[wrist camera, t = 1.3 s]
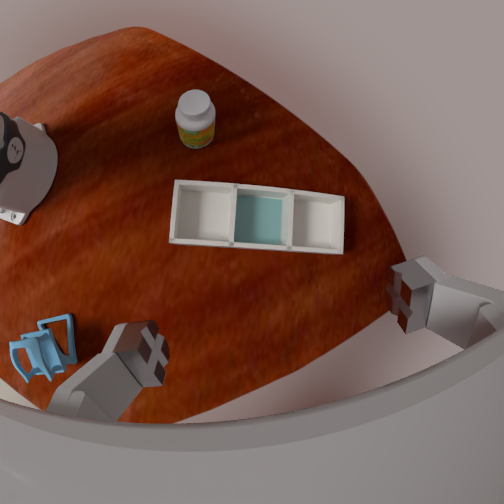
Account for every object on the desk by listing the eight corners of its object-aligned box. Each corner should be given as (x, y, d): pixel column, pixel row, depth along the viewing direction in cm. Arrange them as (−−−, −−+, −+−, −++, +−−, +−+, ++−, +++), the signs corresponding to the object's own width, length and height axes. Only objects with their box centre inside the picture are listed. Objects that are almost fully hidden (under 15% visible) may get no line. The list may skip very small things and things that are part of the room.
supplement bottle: (181, 152, 38) (174, 123, 29) (178, 122, 38) (170, 89, 29) (217, 146, 39) (219, 116, 29) (211, 116, 39) (213, 82, 29)
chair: (55, 365, 35) (20, 393, 23) (39, 320, 34) (-3, 337, 22) (88, 360, 36) (55, 392, 24) (71, 312, 35) (30, 331, 23)
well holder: (173, 244, 38) (168, 242, 34) (178, 187, 38) (174, 179, 34) (329, 254, 41) (342, 254, 37) (331, 202, 41) (344, 196, 37)
